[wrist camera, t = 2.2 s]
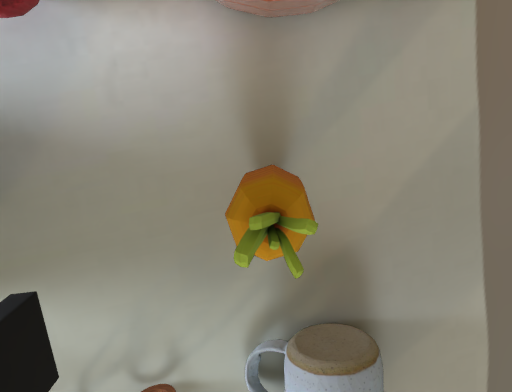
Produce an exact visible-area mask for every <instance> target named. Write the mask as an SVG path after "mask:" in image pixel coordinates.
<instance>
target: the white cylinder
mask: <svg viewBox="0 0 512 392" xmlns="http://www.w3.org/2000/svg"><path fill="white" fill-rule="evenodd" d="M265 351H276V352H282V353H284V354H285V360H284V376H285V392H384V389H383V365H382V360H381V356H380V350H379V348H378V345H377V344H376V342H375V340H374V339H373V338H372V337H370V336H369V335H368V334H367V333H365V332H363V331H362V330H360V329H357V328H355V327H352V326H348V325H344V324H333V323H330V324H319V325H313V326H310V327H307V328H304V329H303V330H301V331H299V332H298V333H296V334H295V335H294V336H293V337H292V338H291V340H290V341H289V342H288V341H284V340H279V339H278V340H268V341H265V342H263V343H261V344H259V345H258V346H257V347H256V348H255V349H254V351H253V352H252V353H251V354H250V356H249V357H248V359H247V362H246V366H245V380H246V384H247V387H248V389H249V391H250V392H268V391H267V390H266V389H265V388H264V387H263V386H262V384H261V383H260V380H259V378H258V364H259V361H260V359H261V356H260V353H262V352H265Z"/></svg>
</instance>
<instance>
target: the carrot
mask: <svg viewBox="0 0 512 392" xmlns="http://www.w3.org/2000/svg"><path fill="white" fill-rule="evenodd" d="M225 216H226V219H227V221H228V224H229V227H230V230H231V232H232V235H233V238H234V240H235V243H236V246H237V248H236V250H235V253H234V261H235V263H236V264H237V265H239V266H240V267H248V266H249V264H250V262H251V260H252V258H253V257H254V255H255V256H257V257H259V258H261V259H264V260H266V261H268V260H272V259H275V258H278V257H281V256H284V258H285V260H286V263H287V265H288V267H289V269H290V271H291V273H292V274H293V276H294V277H295V279H296V278H299V277H300V276H301V275H302V273H303V270H304V269H303V267H302V264H301V262H300V261H299V259H298V257H297V255H296V253H295V252H298V251H299V249H300V247H301V245H302V244H303V242H304V240H305V238H306V236H307V234H308V235H311V234H315V232H316V230H317V227H318V223H316V222H315V219H314V216H313V213H312V210H311V207H310V204H309V201H308V198H307V195H306V191H305V188H304V186H303V184H302V182H301V180H300V179H299V177H297V176H295V175H293V174H291V173H289V172H287V171H285V170H283V169H281V168H279V167H277V166H275V165H270V166H267V167H264V168H261V169H258V170H254V171H251V172H248V173H246V174H245V175H244V177H243V178H242V180H241V182H240V184H239V186H238V188H237V190H236V192H235V194H234V196H233V198H232V201H231V203H230V205H229V207H228V209H227V211H226V213H225Z"/></svg>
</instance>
